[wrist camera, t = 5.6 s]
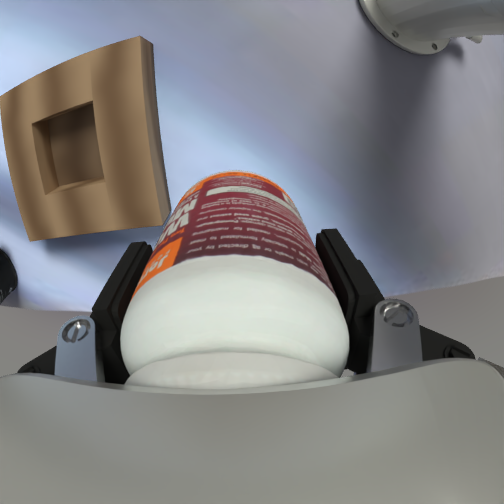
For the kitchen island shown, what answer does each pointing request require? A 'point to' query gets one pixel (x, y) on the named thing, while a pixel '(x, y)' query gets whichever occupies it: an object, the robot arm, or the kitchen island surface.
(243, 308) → the pill bottle
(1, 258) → the milk frother
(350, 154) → the kitchen island surface
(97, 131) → the socket block
